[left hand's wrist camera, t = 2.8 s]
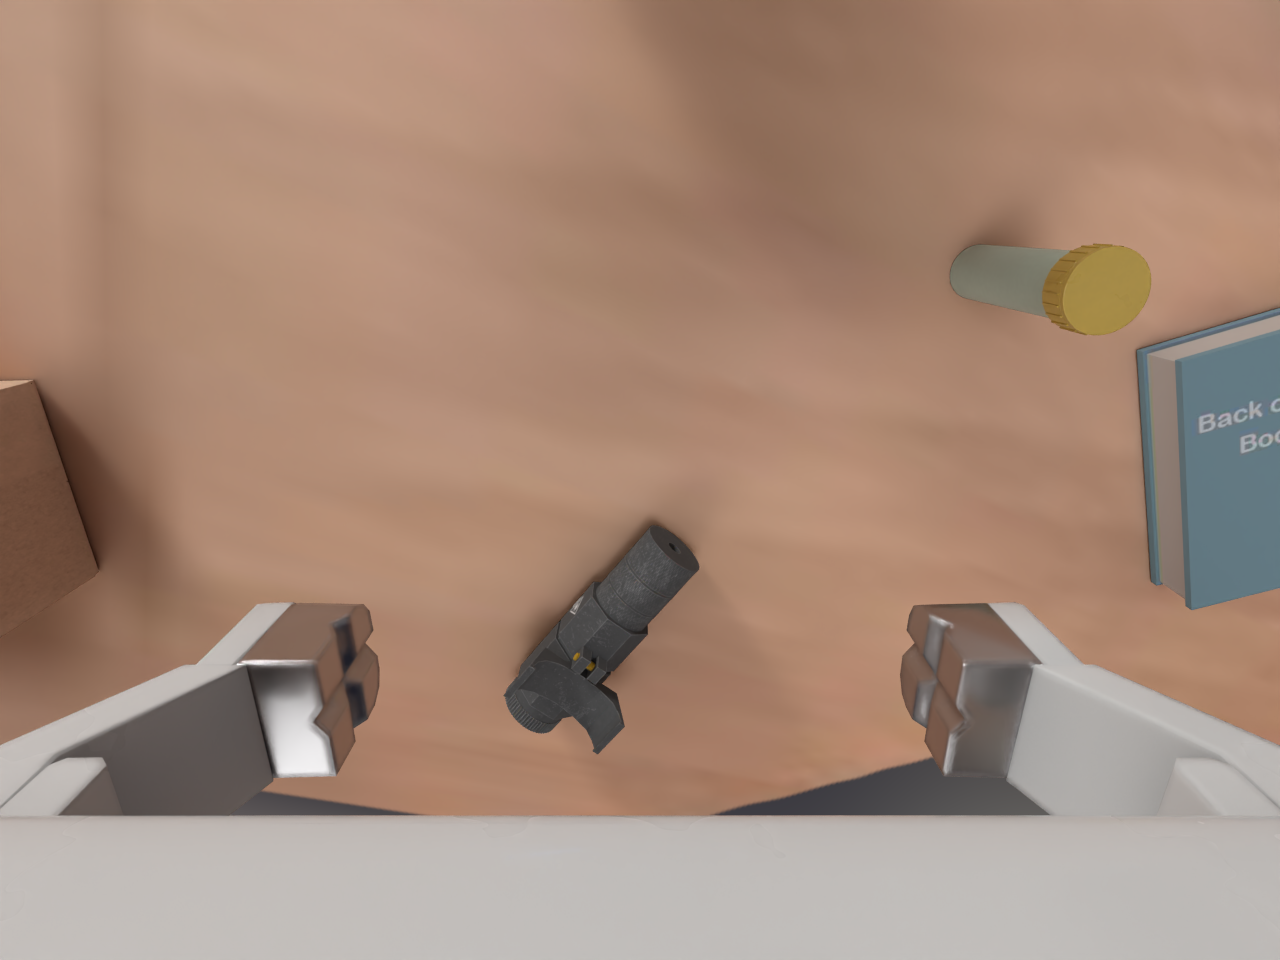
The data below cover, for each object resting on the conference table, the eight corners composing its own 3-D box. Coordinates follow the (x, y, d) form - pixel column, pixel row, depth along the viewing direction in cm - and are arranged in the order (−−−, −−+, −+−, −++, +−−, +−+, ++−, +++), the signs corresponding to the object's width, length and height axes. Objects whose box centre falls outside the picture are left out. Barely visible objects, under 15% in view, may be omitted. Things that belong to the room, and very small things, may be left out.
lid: (1023, 291, 41) (1043, 295, 39) (1094, 224, 40) (1119, 224, 38) (1072, 347, 43) (1095, 354, 41) (1143, 285, 41) (1170, 288, 39)
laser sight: (713, 562, 63) (726, 621, 54) (569, 717, 70) (558, 794, 60) (630, 501, 61) (629, 552, 52) (489, 667, 67) (465, 739, 58)
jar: (938, 273, 55) (1050, 293, 40) (980, 232, 53) (1112, 237, 39) (971, 310, 56) (1092, 342, 41) (1013, 270, 54) (1153, 288, 40)
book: (1136, 350, 57) (1181, 361, 52) (1344, 288, 55) (1410, 295, 50) (1151, 581, 64) (1191, 610, 59) (1334, 534, 62) (1390, 559, 58)
